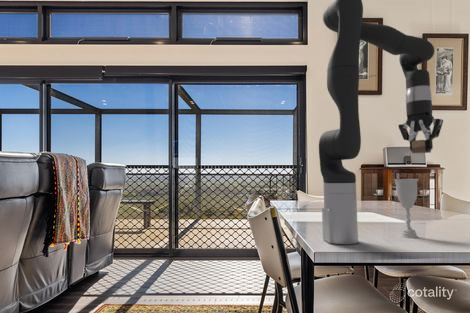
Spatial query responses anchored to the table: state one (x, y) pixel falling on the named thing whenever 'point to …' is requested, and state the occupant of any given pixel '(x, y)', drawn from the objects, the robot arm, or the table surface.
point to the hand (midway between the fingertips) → (421, 151)
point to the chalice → (407, 202)
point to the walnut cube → (419, 147)
